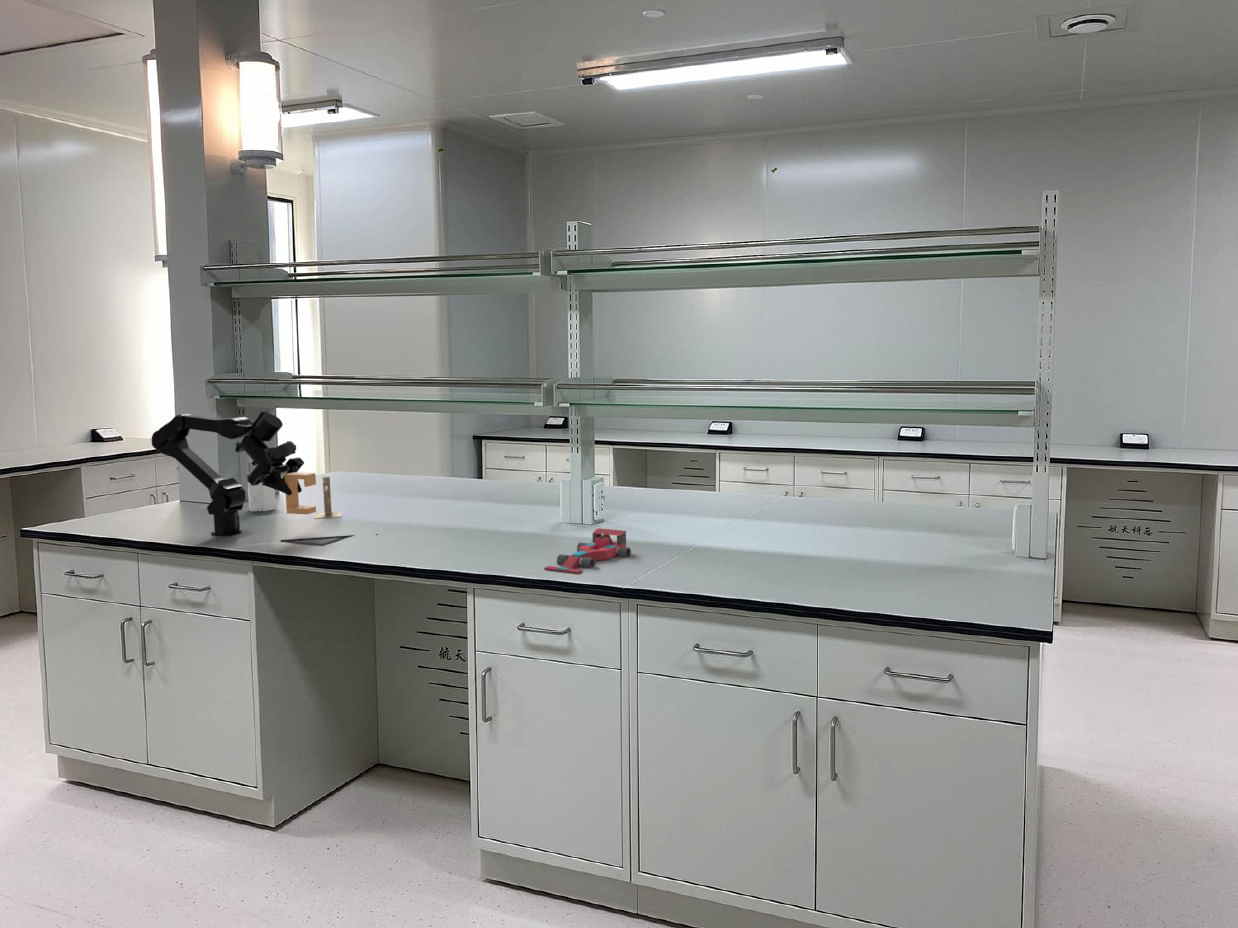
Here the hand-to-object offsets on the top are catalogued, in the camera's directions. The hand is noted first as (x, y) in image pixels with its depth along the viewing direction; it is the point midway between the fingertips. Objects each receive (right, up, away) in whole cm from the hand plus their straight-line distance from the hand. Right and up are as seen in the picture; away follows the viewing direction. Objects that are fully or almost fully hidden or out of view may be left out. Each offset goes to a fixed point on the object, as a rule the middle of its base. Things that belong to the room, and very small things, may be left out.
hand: (296, 492), depth 271 cm
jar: (-26, -7, +47) cm, 54 cm away
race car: (+82, -17, -31) cm, 89 cm away
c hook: (+2, -6, 0) cm, 6 cm away
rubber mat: (+6, -13, 0) cm, 14 cm away
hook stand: (+2, -10, +23) cm, 25 cm away
